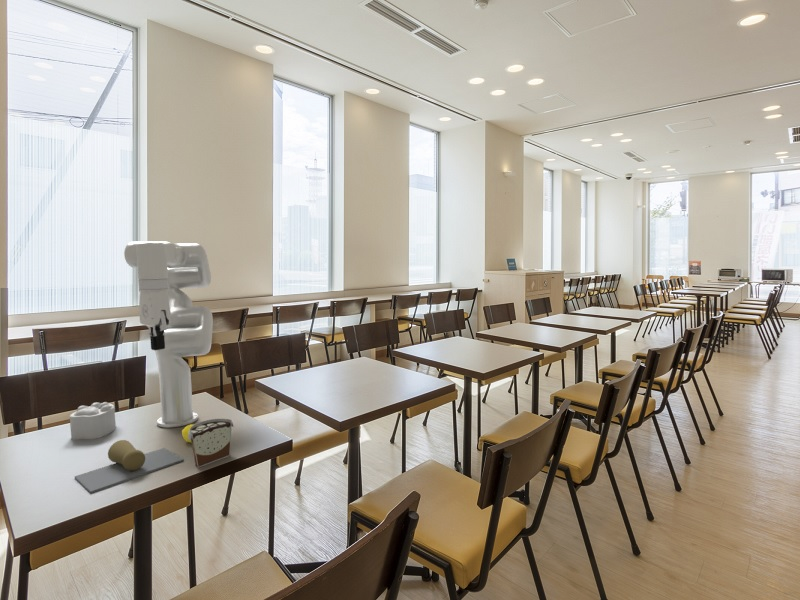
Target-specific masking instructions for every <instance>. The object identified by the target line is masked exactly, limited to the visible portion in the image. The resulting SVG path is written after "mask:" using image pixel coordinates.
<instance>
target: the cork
mask: <svg viewBox="0 0 800 600" xmlns="http://www.w3.org/2000/svg"><path fill="white" fill-rule="evenodd" d="M144 454H145V453H144V452H143V451H142V450H141V449H136V448H135V447H134V445H133V444H132V443H131V442H130V441H129V440H125V439H121V440H117V441H115V442H114V443H112V445H110V446H109V449H108V452H107V457H108V459H109V460H110V461H111V462H112V463H114V464H115V463H118V464H121V465H123V466H124V468H125V469H127V470H129V471H135V470H138V469H139V468H141V467H142V466H143V464H144V462H145V455H144Z"/></svg>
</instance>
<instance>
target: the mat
mask: <svg viewBox="0 0 800 600" xmlns="http://www.w3.org/2000/svg"><path fill="white" fill-rule="evenodd" d="M144 455H145V462H144V464H143V466H142V467H141V468H139V469H138V470H135V471H129V470H127V469H125V468H124V466H123V465H121V464H118V463H115V462H114V463H111V464H110V465H109V464H108V465H106V466H103V467H100V468H97V469H94V470H91V471H88V472H87V471H86V472H84V473H81V474H77V475H74V479H75V480H76V481H77V482H78V483H79V484H81V486H82V487H83V488H84V489H86V491H88V492H89V494H93V492H94V493H97V492H99V491H102V490H105V489H108V488H111V487H114V486H116V485H119V484H122V483H124V482H127V481H130V480H133V479H136V478H139V477H142V476H144V475H147V474H150V473H152V472H156V471H159V470H162V469H165V468H168V467H171V466H173V465H175V464H176V465H177V464H179V463H181V462H184V461H185V460H184V458H183V457H181V456H179V455H177V454H176V453H174V452H172V451H171V450H169V449H167V448H166V447H163V448H159V449H156V450H153V451H150V452H147V453H144Z"/></svg>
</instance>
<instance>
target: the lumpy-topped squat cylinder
mask: <svg viewBox="0 0 800 600" xmlns="http://www.w3.org/2000/svg"><path fill="white" fill-rule="evenodd" d="M115 410H116V409H115V405H114V404H112V403H110V402H107V401H104V402H93V403H91V405H90V406H88V405H80V406H78V407H77V410H76V411H74V412H72V413H71V414H70V415H69V425H70V426H69V427H70V436H71V440H96V439H99V438H103V437H105V436H107V435H109V434H110V433H111V432H113V431H115V430H116V429H117V428H116V425H117V423H116V413H115V412H116V411H115ZM114 429H115V430H114Z"/></svg>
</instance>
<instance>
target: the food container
mask: <svg viewBox="0 0 800 600" xmlns="http://www.w3.org/2000/svg"><path fill="white" fill-rule="evenodd" d="M232 427H234V422H233V421H232V419H229V418H213V419H206V420H202V421H200V422H196V423H195V425H193V426H192V427H191V428H190V430H189V433H188V439H189V440H190V441H191V446H192V447H191V448H192V455H193V459H194V465H195V467H196V469H199V468H202V467H203V466H207V465H209V464H213V463H214V462H218V461H219V460H222V459H225V458H228V457H230V456H231V450H232V449H231V448H232V447H231V446H232V445H231V444H232V443H231V442H232Z"/></svg>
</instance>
